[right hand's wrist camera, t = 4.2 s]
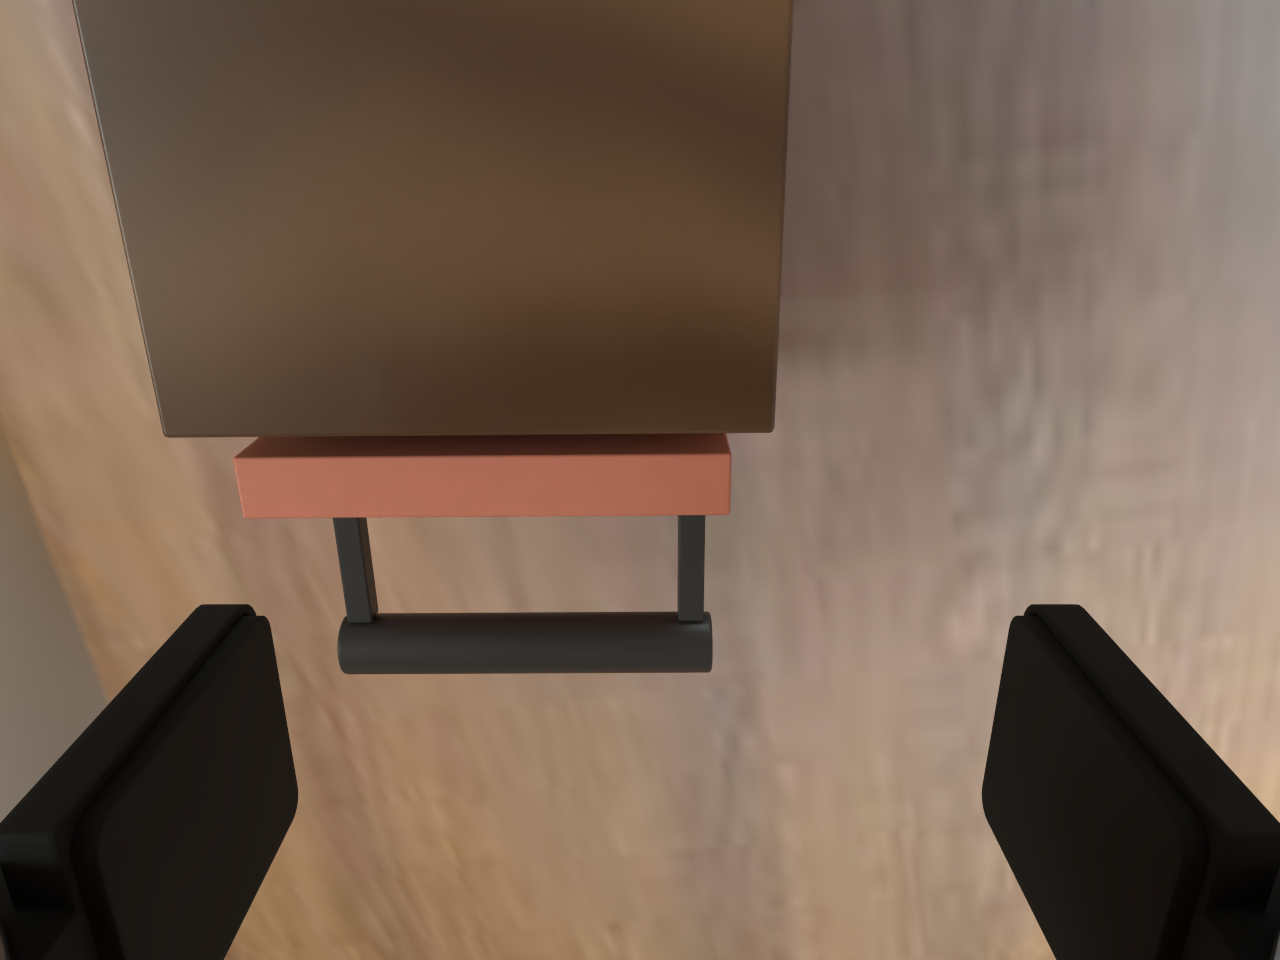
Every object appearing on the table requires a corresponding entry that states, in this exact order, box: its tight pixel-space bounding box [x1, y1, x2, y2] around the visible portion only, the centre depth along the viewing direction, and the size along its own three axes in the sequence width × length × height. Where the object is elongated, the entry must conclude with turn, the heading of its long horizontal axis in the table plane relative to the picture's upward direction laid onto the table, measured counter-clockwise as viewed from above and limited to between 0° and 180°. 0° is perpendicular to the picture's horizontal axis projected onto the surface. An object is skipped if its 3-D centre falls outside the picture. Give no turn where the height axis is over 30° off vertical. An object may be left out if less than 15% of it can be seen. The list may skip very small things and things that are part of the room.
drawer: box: [233, 433, 732, 674], centre depth 19 cm, size 25×9×10 cm, turn 1°
